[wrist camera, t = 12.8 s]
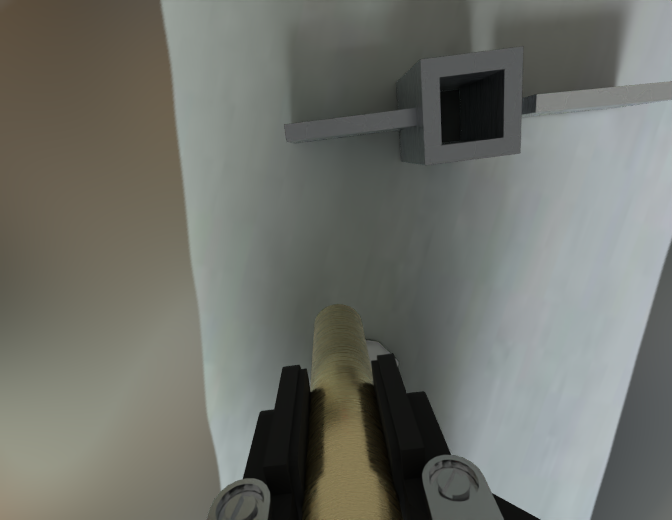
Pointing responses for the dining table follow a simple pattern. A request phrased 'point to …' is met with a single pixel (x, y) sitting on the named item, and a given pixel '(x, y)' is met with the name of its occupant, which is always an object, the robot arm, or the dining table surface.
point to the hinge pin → (345, 428)
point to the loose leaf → (595, 99)
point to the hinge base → (425, 114)
